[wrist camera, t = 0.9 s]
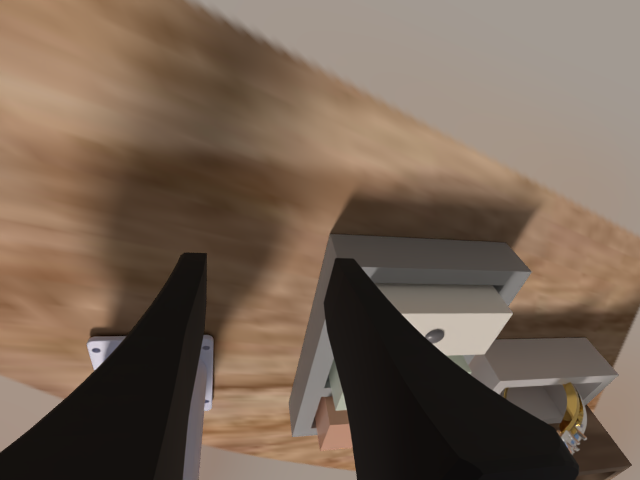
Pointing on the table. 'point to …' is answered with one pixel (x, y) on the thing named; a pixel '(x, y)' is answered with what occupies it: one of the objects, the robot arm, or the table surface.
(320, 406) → the tile two terracotta
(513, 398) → the bracelet dish
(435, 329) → the tile one cream
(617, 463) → the box
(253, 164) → the table surface
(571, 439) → the ring
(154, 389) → the robot arm
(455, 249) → the button board
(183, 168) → the table surface
